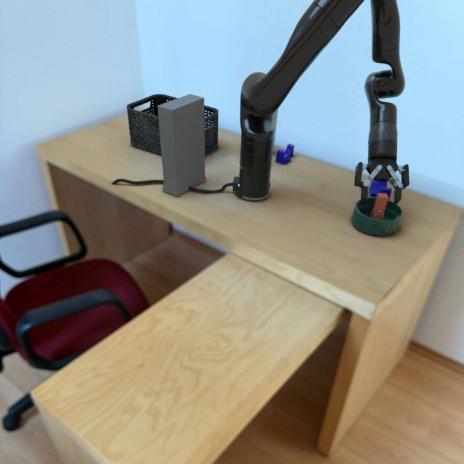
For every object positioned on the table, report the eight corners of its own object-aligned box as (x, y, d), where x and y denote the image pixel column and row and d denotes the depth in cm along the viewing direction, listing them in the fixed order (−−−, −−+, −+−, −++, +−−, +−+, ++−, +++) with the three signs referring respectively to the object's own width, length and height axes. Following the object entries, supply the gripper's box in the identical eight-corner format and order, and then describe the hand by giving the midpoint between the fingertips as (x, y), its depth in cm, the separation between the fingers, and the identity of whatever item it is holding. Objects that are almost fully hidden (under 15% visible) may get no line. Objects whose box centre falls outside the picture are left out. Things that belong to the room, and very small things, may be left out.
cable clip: (369, 188, 140) (374, 170, 136) (384, 190, 139) (389, 172, 135) (370, 207, 131) (375, 188, 127) (386, 209, 130) (391, 190, 126)
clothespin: (372, 225, 122) (380, 198, 117) (369, 219, 125) (377, 192, 119) (380, 226, 122) (389, 198, 117) (378, 219, 125) (386, 192, 119)
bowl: (355, 236, 119) (360, 220, 116) (347, 211, 129) (351, 196, 125) (403, 237, 119) (409, 222, 116) (391, 213, 129) (396, 197, 125)
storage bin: (222, 146, 160) (222, 108, 151) (190, 165, 148) (189, 125, 139) (160, 129, 171) (157, 92, 161) (126, 145, 158) (121, 106, 149)
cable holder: (284, 164, 151) (285, 153, 148) (275, 161, 152) (276, 150, 149) (296, 157, 155) (298, 146, 153) (288, 154, 157) (289, 143, 154)
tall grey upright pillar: (190, 175, 143) (188, 93, 126) (205, 180, 140) (204, 97, 123) (162, 191, 134) (154, 105, 117) (177, 197, 132) (172, 110, 115)
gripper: (360, 136, 115) (359, 197, 115) (414, 138, 116) (413, 199, 115) (352, 148, 123) (350, 205, 122) (403, 150, 123) (401, 207, 122)
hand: (381, 202), depth 119 cm, fingers open, 8 cm apart
